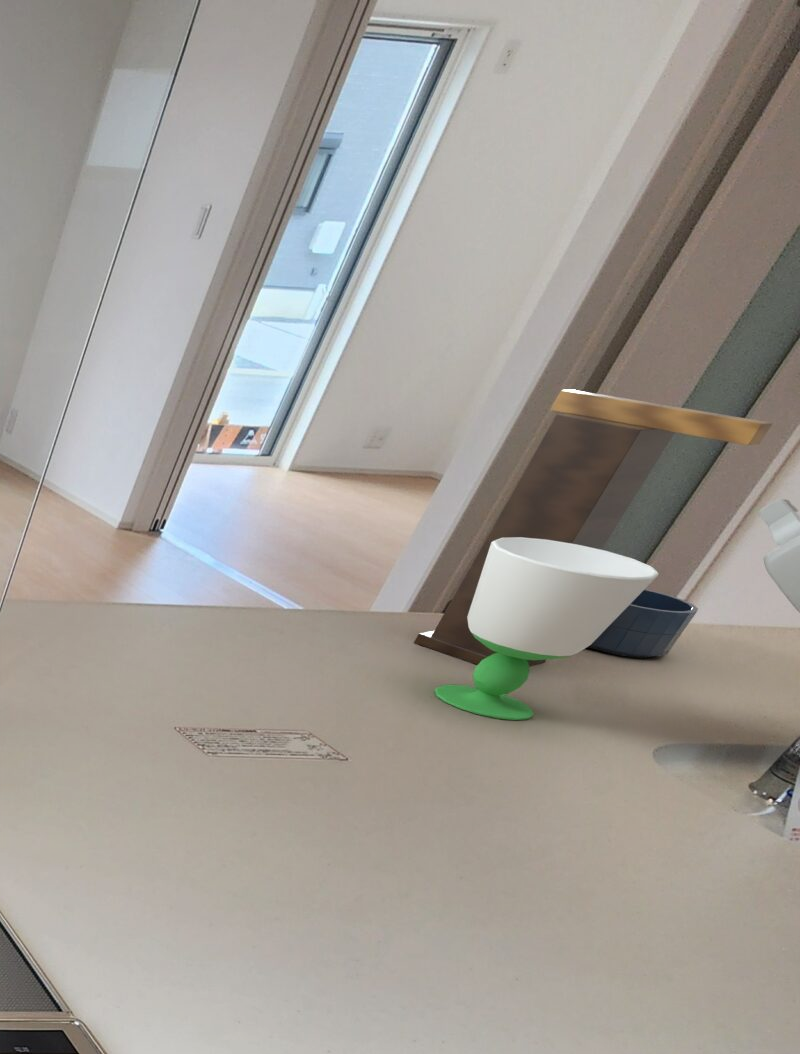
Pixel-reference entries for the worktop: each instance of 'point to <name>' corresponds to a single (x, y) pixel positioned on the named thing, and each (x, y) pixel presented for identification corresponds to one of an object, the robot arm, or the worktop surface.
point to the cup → (540, 614)
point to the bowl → (646, 626)
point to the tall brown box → (559, 506)
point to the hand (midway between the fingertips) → (792, 501)
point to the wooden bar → (662, 417)
